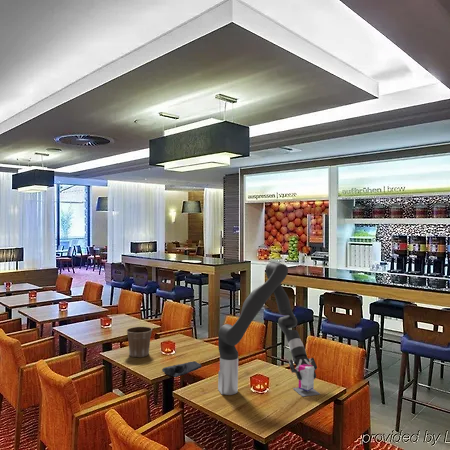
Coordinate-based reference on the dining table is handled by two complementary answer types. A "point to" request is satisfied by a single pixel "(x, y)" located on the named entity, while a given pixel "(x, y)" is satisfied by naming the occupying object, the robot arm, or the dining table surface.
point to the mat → (306, 392)
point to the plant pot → (139, 341)
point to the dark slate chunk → (181, 369)
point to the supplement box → (306, 377)
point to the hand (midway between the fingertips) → (307, 378)
